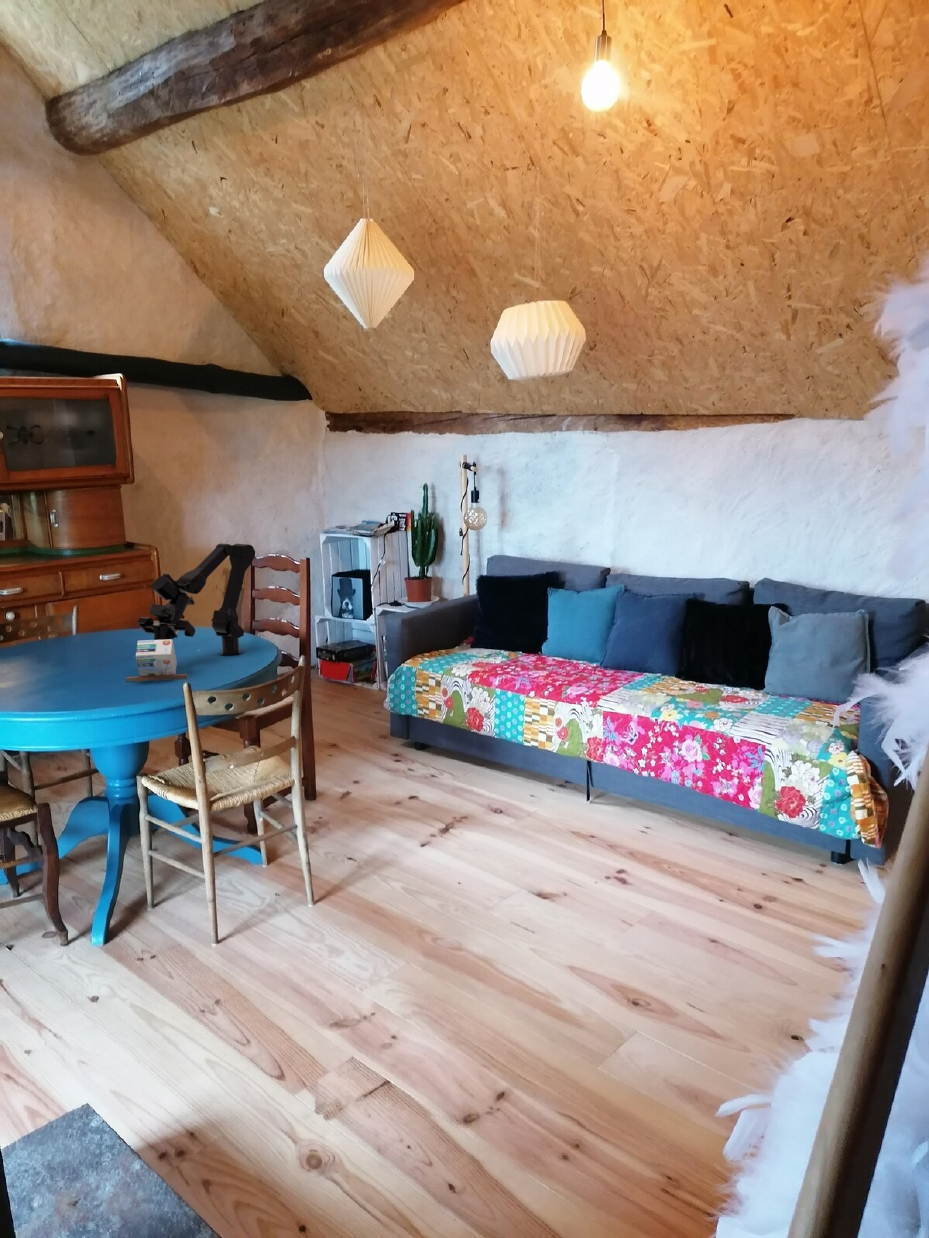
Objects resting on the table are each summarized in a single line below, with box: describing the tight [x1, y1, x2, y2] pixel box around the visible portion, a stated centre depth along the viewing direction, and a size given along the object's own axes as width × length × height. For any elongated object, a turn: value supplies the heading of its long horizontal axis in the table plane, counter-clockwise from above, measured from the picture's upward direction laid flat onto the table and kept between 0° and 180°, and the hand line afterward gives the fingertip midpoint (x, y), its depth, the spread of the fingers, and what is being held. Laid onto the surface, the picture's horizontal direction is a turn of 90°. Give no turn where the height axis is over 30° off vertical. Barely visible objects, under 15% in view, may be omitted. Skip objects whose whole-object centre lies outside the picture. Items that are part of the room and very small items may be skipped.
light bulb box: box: [135, 639, 178, 676], centre depth 259 cm, size 11×7×11 cm
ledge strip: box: [125, 673, 189, 682], centre depth 259 cm, size 2×18×1 cm, turn 101°
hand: (155, 649), depth 261 cm, fingers closed
